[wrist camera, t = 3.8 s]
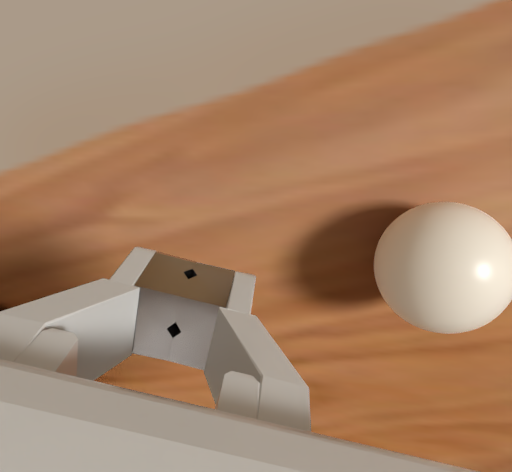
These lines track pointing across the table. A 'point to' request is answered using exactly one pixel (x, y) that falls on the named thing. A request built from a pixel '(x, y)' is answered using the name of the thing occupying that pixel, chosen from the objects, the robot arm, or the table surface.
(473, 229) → the cue ball
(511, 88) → the table surface
